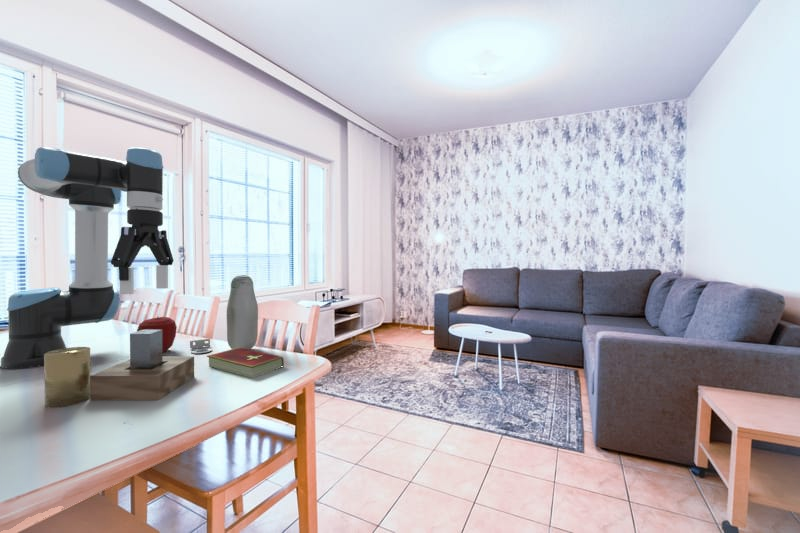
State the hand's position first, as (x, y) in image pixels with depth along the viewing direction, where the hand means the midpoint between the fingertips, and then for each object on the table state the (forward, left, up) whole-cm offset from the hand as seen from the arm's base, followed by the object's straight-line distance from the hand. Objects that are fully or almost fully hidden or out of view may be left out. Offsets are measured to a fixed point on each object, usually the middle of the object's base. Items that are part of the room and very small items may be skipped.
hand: (145, 291), depth 92 cm
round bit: (+8, -13, -26) cm, 30 cm away
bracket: (-36, -4, -26) cm, 45 cm away
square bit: (0, 0, -25) cm, 25 cm away
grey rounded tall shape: (-35, +11, -26) cm, 45 cm away
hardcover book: (-17, +19, -27) cm, 37 cm away
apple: (-33, -18, -26) cm, 46 cm away
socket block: (0, 0, -26) cm, 26 cm away
